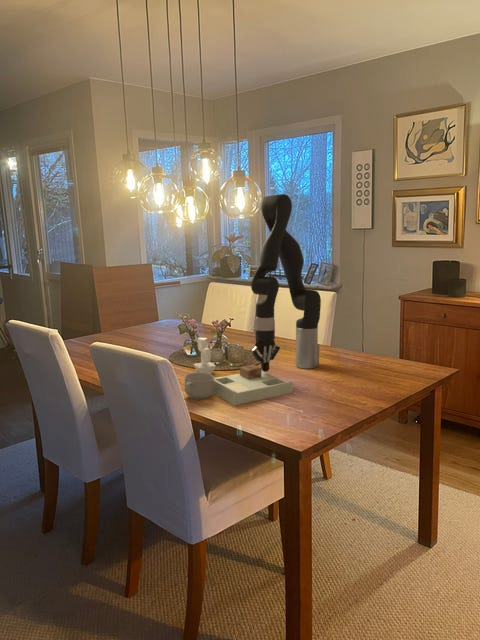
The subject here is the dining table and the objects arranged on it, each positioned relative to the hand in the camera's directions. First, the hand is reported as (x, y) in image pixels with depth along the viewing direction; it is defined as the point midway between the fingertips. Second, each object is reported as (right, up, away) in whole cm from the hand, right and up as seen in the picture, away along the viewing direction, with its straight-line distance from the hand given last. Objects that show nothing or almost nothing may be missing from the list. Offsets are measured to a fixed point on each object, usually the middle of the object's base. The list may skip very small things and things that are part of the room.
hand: (265, 371), depth 211 cm
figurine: (-25, -2, +12) cm, 27 cm away
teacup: (-25, -8, -18) cm, 32 cm away
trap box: (-7, -6, -9) cm, 13 cm away
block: (-6, -2, -3) cm, 7 cm away
